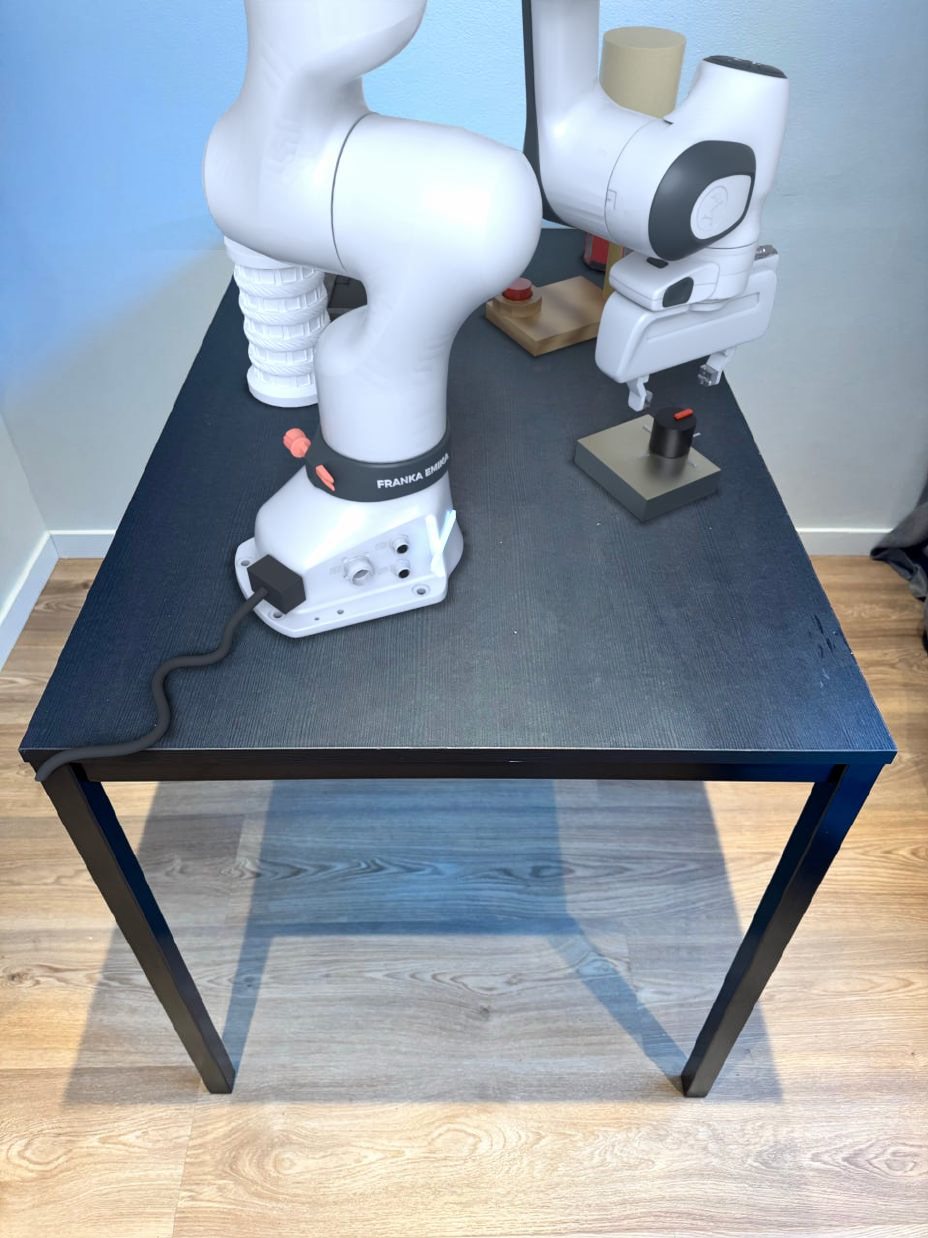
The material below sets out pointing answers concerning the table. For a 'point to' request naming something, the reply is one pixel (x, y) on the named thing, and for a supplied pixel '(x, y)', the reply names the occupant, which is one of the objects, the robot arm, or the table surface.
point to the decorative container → (280, 325)
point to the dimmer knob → (672, 431)
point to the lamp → (640, 82)
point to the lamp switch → (519, 290)
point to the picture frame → (343, 294)
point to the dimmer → (644, 470)
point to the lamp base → (550, 315)
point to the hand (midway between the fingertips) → (673, 395)
